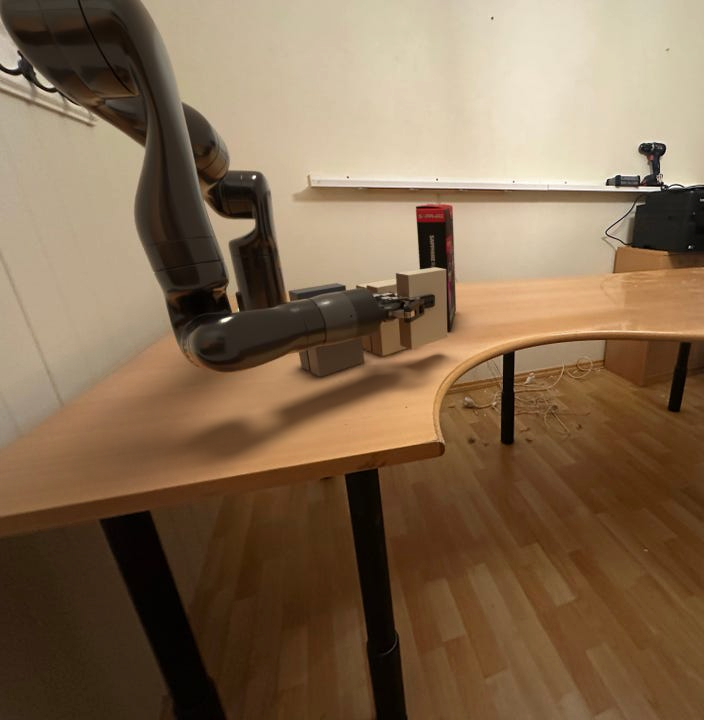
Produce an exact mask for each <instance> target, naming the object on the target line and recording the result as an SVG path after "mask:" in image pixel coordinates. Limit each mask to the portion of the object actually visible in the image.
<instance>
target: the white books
mask: <svg viewBox="0 0 704 720" xmlns="http://www.w3.org/2000/svg"><path fill="white" fill-rule="evenodd" d="M357 288H364V289H367V290H368V291H370V292H371V293H383V292H393V293H394V294H396V293H397V284H396V278H391V279H390V278H389V279H386V280H380V281H373V282H367V283H361V284H356V285H355V289H357ZM362 343H363V350H365V351H367V352H370V353H373V354H375V355H377V356H380V357H384V356H388V355H391V354H394V353H398V352H400V351H403V350H406V349H407V348H406V347H403V346H401V345H400V332H399V319H395V320H394V321H392V322H382V323H381V325H380V327H379V329H378V331H377V332H376V333H374V334H373V335H369V336H365V337H362Z"/></svg>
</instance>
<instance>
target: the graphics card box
mask: <svg viewBox="0 0 704 720" xmlns="http://www.w3.org/2000/svg"><path fill="white" fill-rule="evenodd" d="M453 207H454V206H453V205H451V204H444V203H443V204H441V203H427V204H421V205H416V206H415V215H416V216H415V217H416V219H415V220H416V231H417V247H418V248H417V250H418V265H419V270H421V269H427V268H434V267H435V268H442V269H446V291H447V331H451V328H452V324H453V322H454V318H455V315H456V311H457V300H456V298H457V297H456V296H457V295H456V267H455V237H454V234H455V233H454V214H453V213H454V209H453Z"/></svg>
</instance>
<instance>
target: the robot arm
mask: <svg viewBox="0 0 704 720" xmlns="http://www.w3.org/2000/svg"><path fill="white" fill-rule="evenodd" d="M0 20H1V23H2V25H3V27H4V29H5V31H6V32H7V34H8V36H9V37H10V40H12V42H13V44H14V45H15V47H16V48H17V49H18V50H19V52H20V53H21V54H22V56H23V57H24V58H25V59H26V61H27V62H28V63H29V64H30V65H31V66H32V68H34V69H35V70H36V72H38V73H39V74H40V75H41V76H42V77H43V78H44V79H45V80H46V81H47V82H48V83H49V84H50V85H52V86H53V87H54V88H55V89H56V90H57V91H59V92H60V93H62V94H63V95H64V96H65V97H67V98H68V99H69V100H71V101H73V102H74V103H75V104H77V105H79V106H80V107H82V108H83V109H85V110H86V111H88V112H90V113H91V114H92V115H95V116H96V117H98V118H99V119H101V120H102V121H105V122H106V123H107V124H109V125H110V126H112V127H114V128H115V129H117V130H119V131H120V132H121V133H123V134H124V135H125V136H127V137H128V138H129V139H131V140H132V141H133V142H135V143H136V144H138V145H139V146H140V147H141V148H143V149H144V156H143V160H142V166H141V171H140V175H139V178H138V181H137V182H138V183H137V186H136V191H135V196H134V203H133V219H134V220H133V221H134V225H135V230H136V233H137V236H138V239H139V241H140V244H141V246H142V248H143V251H144V254H145V256H146V258H147V261H148V264H149V266H150V267H151V270H152V272H153V275H154V278H155V279H156V281H157V284H158V285H159V287H160V289H161V292H162V294H163V297H164V302H165V307H166V310H167V315H168V318H169V322H170V326H171V328H172V333H173V335H174V338H175V341H176V343H177V346H178V348H179V349H180V351H181V353H182V355H183V356H184V358H185V359H186V360H187V361H188V362H189V364H192V365H193V366H194V367H196V368H199V369H202V370H205V371H210V372H212V373H219V374H234V373H240V372H243V371H248V370H251V369H255V368H257V367H261V366H263V365H266V364H268V363H271V362H274V361H276V360H278V359H282V358H283V357H286V356H287V355H292V354H299V352H302V351H306V350H310V349H314V348H317V347H321V346H328V345H335V344H339V343H343V342H347V341H350V340H354V339H358V338H362V337H365V336H369V335H373V334H374V333H376V332H377V331H378V329H379V327H380V325H381V323H382V322H392V321H394V320H395V319H400V318H404V322H405V323H410V322H413V321H414V320H416V319H418V318H419V317H421V316H423V315H424V314H425V310H424V309H427V308H431V307H434V306H435V295H433V294H428V295H424V296H419V297H412V298H408V297H405V296H398V297H397V293H396V294H394V293H393V292H383V293H371V292H370V291H368V290H367V289H364V288H357V289H356V288H352V289H346V290H345V291H339V292H334V293H327V294H322V295H318V296H315V297H312V298H308V299H303V300H297V301H291V302H290V301H288V296H287V290H286V284H285V278H284V273H283V267H282V262H281V255H280V249H279V244H278V235H277V230H276V225H275V217H274V206H273V199H272V191H271V188H270V184H269V180H268V179H267V177H266V175H265V174H264V173H263V172H262V171H259V170H247V169H246V170H245V169H244V170H242V169H229V168H230V164H231V156H230V155H231V154H230V152H229V148H228V146H227V144H226V142H225V141H224V139H223V138H222V137H221V135H220V134H219V132H218V131H217V130H216V128H215V127H214V126H213V125H212V123H211V122H210V121H209V120H208V119H207V118H206V117H205V116H204V115H203V114H202V113H201V112H200V111H198V110H197V108H195V107H193V106H192V105H189V104H187V103H186V102H184V101H182V99H181V95H180V91H179V86H178V81H177V78H176V74H175V70H174V67H173V64H172V61H171V58H170V53H169V52H168V49H167V46H166V44H165V42H164V39H163V37H162V34H161V32H160V30H159V28H158V26H157V24H156V23H155V21H154V18H153V17H152V15H151V13H150V12H149V10H148V9H147V7H146V6H145V4H144V3H143V2H142V0H0ZM206 205H207V206H208V207H209V208H210V209H211V210H212V211H213V212H214V213H215V214H216V215H217V216H219V217H221V218H222V219H226V220H232V221H233V220H234V221H235V220H239V221H240V220H241V221H242V220H243V221H244V220H245V221H246V220H248V221H251V220H253V221H254V227H253V228H252V229H251V230H250V231H248V232H247V233H245V234H243V235H240V236H237V237H235V238H232V239H230V240H229V241H228V244H227V245H228V247H227V248H228V253H229V256H230V260H231V265H232V270H233V274H234V278H235V282H236V288H237V290H236V292H235V299H236V304H237V310H238V311H235V312H234V311H233V309H232V306H231V302H230V299H229V297H228V293H227V292H228V291H227V288H228V287H229V285H230V275H229V270H228V266H227V263H226V261H225V258H224V256H223V252H222V250H221V247H220V244H219V241H218V239H217V235H216V234H215V233H216V232H215V230H214V228H213V225H212V222H211V220H210V217H209V213H208V211H207V210H208V209H207V208H206ZM401 302H402V304H401ZM410 302H412V303H410ZM409 303H410V304H409Z"/></svg>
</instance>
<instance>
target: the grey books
mask: <svg viewBox="0 0 704 720" xmlns="http://www.w3.org/2000/svg"><path fill="white" fill-rule="evenodd" d="M346 286H347V285H345V284H342V283H338V282H335V283H329V284H322V285H315V286H309V287H303V288H297V289H292V290H291V289H290V290H288V297H289V302H291V301H297V300H303V299H308V298H312V297H315V296H318V295H322V294H327V293H334V292H339V291H345V290H347V287H346ZM364 353H365V352H364V349H363V343H362V338H358V339H354V340H350V341H347V342H343V343H339V344H335V345H328V346H321V347H317V348H314V349H310V350H306V351H302V352H298V355H299V362H300V367H301V368H302V369H304V370H306V371H307V372H310V373H311V374H313V375H315V376H317V377H318V378H322V377H325V376H328V375H330V374H334V373H336V372H339V371H343V370H346V369H349V368H352V367H355V366H357V365H360V364H364V363H365V354H364Z"/></svg>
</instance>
